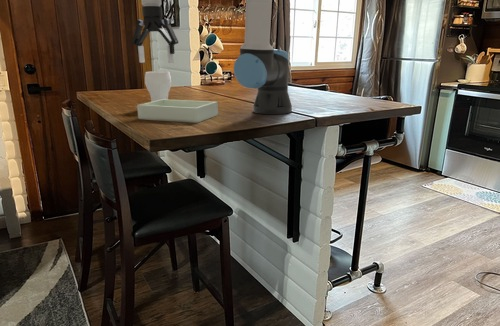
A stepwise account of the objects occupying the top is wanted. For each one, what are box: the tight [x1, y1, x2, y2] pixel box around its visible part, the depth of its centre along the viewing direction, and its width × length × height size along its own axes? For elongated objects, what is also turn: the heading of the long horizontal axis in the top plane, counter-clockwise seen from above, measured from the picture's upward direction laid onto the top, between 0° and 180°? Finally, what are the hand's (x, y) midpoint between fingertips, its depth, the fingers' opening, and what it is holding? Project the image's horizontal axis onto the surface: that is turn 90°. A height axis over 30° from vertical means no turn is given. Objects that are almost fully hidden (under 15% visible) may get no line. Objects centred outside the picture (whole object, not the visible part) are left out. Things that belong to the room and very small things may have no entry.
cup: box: [144, 70, 172, 102], centre depth 159 cm, size 11×11×15 cm
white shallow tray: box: [136, 99, 219, 124], centre depth 140 cm, size 24×16×5 cm, turn 69°
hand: (156, 62), depth 155 cm, fingers open, 13 cm apart
